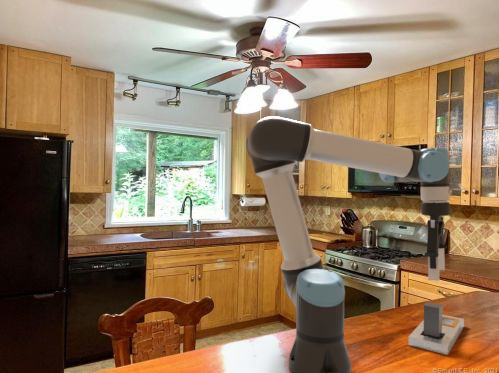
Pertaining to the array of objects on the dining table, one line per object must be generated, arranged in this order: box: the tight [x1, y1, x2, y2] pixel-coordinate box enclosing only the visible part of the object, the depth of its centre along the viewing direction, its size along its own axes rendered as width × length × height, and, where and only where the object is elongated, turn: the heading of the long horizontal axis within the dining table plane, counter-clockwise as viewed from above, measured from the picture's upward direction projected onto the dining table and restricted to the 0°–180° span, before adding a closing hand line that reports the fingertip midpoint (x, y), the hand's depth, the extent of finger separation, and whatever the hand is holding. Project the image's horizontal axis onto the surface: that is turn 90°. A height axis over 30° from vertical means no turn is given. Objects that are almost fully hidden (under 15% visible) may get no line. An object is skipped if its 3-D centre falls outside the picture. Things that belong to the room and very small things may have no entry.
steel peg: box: [423, 301, 443, 340], centre depth 108 cm, size 4×4×11 cm
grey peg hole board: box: [408, 314, 465, 356], centre depth 114 cm, size 10×26×3 cm, turn 142°
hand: (436, 274), depth 109 cm, fingers open, 13 cm apart
